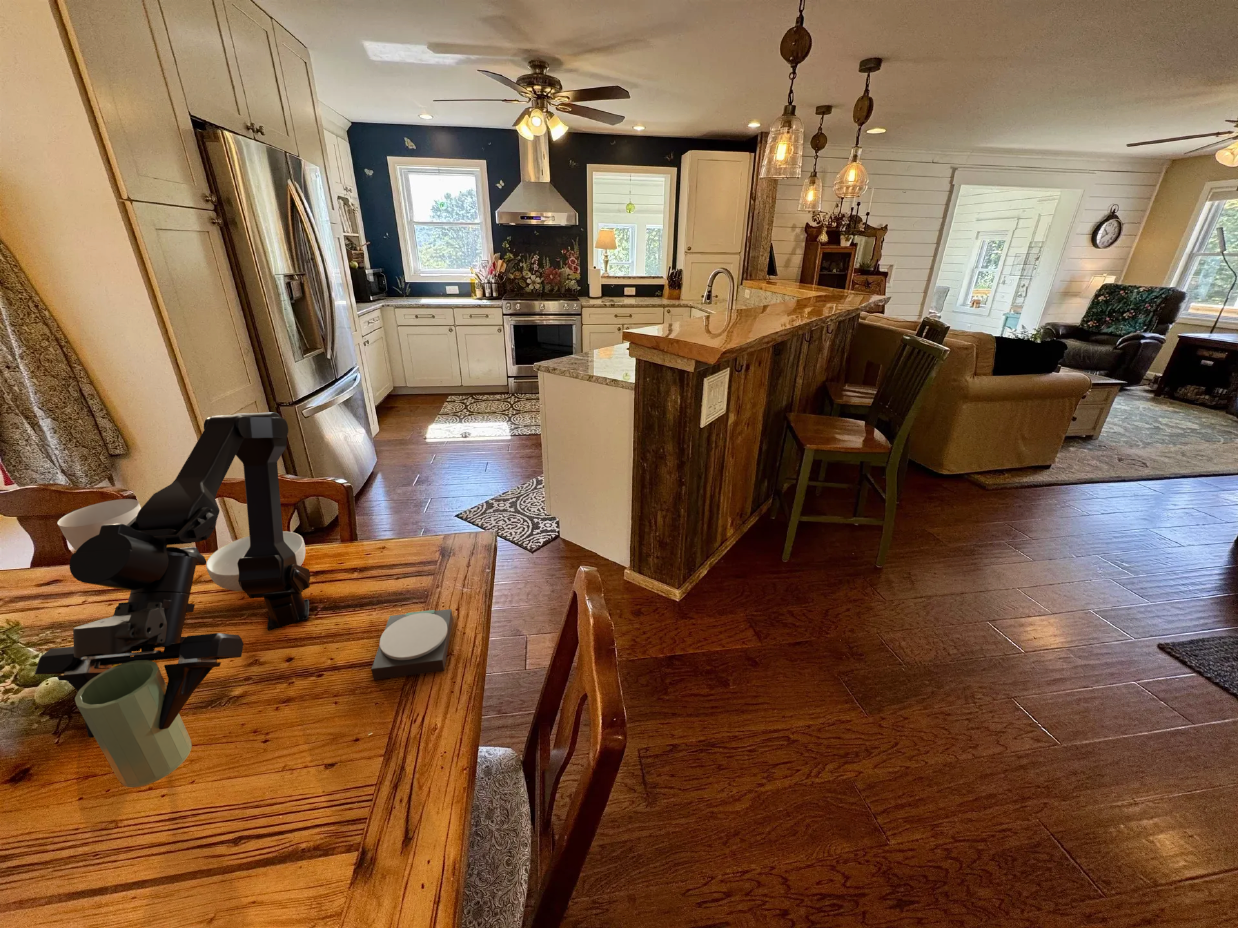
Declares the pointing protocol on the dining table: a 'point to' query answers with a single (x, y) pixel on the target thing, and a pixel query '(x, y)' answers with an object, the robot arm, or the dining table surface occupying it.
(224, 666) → the dining table surface
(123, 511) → the wineglass
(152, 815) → the dining table surface
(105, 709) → the tumbler
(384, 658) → the scale
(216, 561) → the cereal bowl
